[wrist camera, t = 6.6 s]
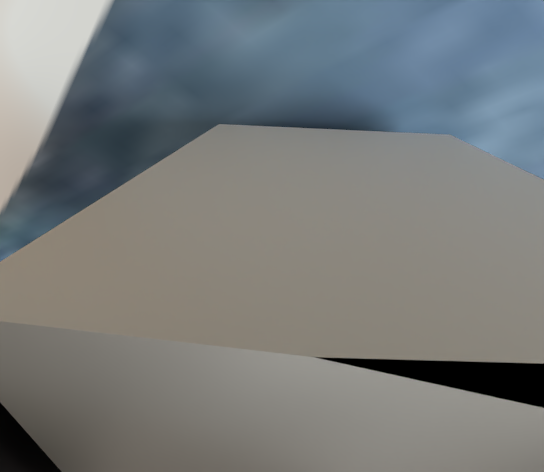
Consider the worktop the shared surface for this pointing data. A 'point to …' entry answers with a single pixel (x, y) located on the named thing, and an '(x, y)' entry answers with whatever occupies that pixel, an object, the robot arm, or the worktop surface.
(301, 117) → the worktop surface
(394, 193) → the chalk-white cube
